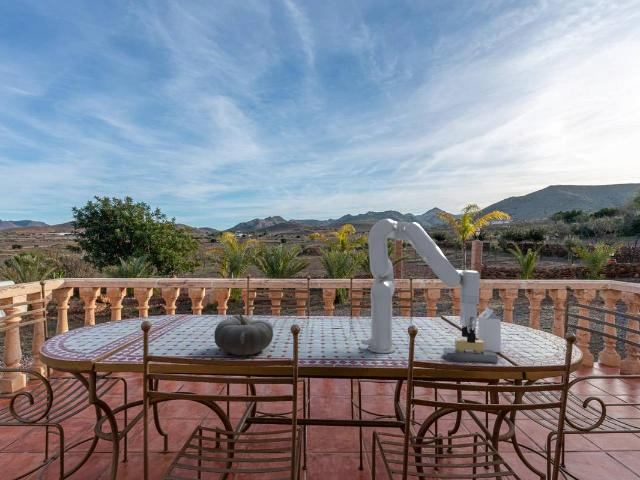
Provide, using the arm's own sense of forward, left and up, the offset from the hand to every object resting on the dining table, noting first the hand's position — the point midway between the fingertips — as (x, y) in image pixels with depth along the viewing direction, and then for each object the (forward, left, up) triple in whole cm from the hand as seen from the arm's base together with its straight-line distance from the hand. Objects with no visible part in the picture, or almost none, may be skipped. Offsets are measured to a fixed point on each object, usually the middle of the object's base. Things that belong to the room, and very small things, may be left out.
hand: (468, 339), depth 157 cm
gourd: (-96, -9, -8) cm, 97 cm away
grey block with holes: (+1, 0, -8) cm, 8 cm away
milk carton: (+13, +15, -8) cm, 21 cm away
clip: (0, 0, -8) cm, 8 cm away
